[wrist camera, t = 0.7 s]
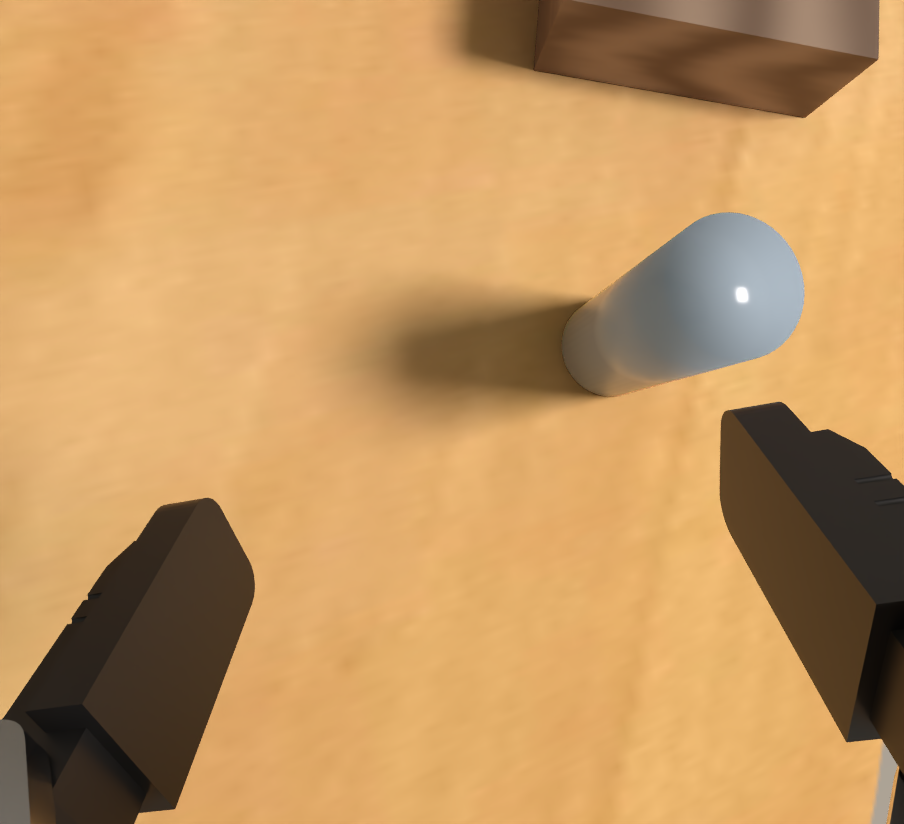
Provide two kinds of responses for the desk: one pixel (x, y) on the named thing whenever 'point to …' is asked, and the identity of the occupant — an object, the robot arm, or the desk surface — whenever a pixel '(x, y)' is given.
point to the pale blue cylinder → (688, 308)
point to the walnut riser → (713, 47)
